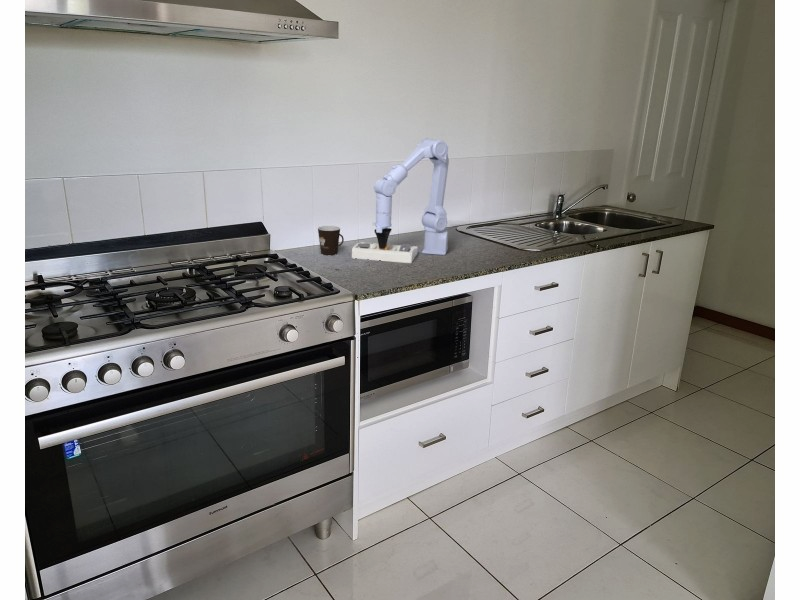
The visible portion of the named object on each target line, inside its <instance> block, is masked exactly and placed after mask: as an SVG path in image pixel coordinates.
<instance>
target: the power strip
mask: <svg viewBox="0 0 800 600" xmlns="http://www.w3.org/2000/svg"><path fill="white" fill-rule="evenodd" d="M360 243H364V244H370V247H368V248H360V247H358V244H360ZM388 244H389V245H390V248H388V250H383V249H378V246H379V245H378V242H377V243H376V242H375V243H374V242H365V241H364V242H363V241H361V242H357V243H356V244H355V245H353V247H352V250H351V259H355V258H357V259H356V260H367V259H369V260H368V261H379V260H381V261H383V262H393V263H402V264H403V263H405V264H412V263H413V262H414V259H415V258H416V257H417V255H418V250H419V249H418V246H415V245H410V248H409V251H408V252H404V251H399V249H400V247H401V245H402V244H392V243H391V244H390V243H388Z"/></svg>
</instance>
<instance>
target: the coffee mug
mask: <svg viewBox="0 0 800 600" xmlns="http://www.w3.org/2000/svg"><path fill="white" fill-rule="evenodd" d="M340 232H341V227H340V226H334V225H322V226H318V227H317V233H318V240H319V241H318V242H319V249H320V254H321V255H322V254H323V255H322V256H328V255H331V256H336V255H338V251H339V247H341V246H342V244H343V243H344V240H345V239H344V236H343V235H342V234H341V233H340ZM340 237H341V243H340V244H339V242H340ZM335 254H336V255H335Z"/></svg>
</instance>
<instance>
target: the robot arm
mask: <svg viewBox="0 0 800 600" xmlns="http://www.w3.org/2000/svg"><path fill="white" fill-rule="evenodd" d="M448 150H449V146H448V144H446V142H445V141H444V140H442V139H433V138H428V137H426V138H423V139H422V140H421V141H420V142H418V143H417V145H416V148H415V149H414V150H413V151H412V152H411V153H410V154H409V156H408V157H406V158H405V160H404V161H403V162H402V163H401V164H395V165H393V166H392V167H391V170H390V171H388V172H387V174H385V175H383V177H382V178H380V179H378V180H376V182H375V183H374V185H373V191H374V193H375V199H376V201H375V202H376V203H375V204H376V205H375V206H376V207H375V222H373V223H372V226H375V228H376V229H374V234H375V236H376V238H377V243H378V245H379V248H381V249H385V246H386V245H387V244H388V239H389V237H390V234H391V232H392V228H391V227H392V206H393V195H395V193H396V190H397V187H398V186H399V185H400V184H401V183H402V182H403V181H404V180H405V179H406V178H407V177H408V173H409V171H410V170H411V169H412V168H414V167H415V166H416V165H417V164H418V163H420V161H421V160H423V159H429V160H430V161H431V162H432V164H433V172H432V179H431V187H430V193H429V195H430V196H429V202H428V205H427V206H426V207H425V208H424V212H423V215H422V217H421V224H422V225H423V230H424V239H423V240H424V241H423V249H422V250H421V254H428V255H430V254H431V255H441V256H442V255H443V256H445V255H446V254H447V252H448V250H449V249H448V247H449V246H448V245H449V244H448V242H449V231H448V230H445V229H446V228H447V227H448V219H447V214H448V213H447V211H446V209H445V207H444V200H445V195H446V194H445V193H446V185H447V179H448V171H449V164H450V163H449V162H450V160H449V155H448V152H449V151H448Z"/></svg>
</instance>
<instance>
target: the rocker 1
mask: <svg viewBox="0 0 800 600" xmlns="http://www.w3.org/2000/svg"><path fill="white" fill-rule="evenodd" d="M359 243H360V244H358V247H360V248H368V247H370V244H364V243H361V242H359Z"/></svg>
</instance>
